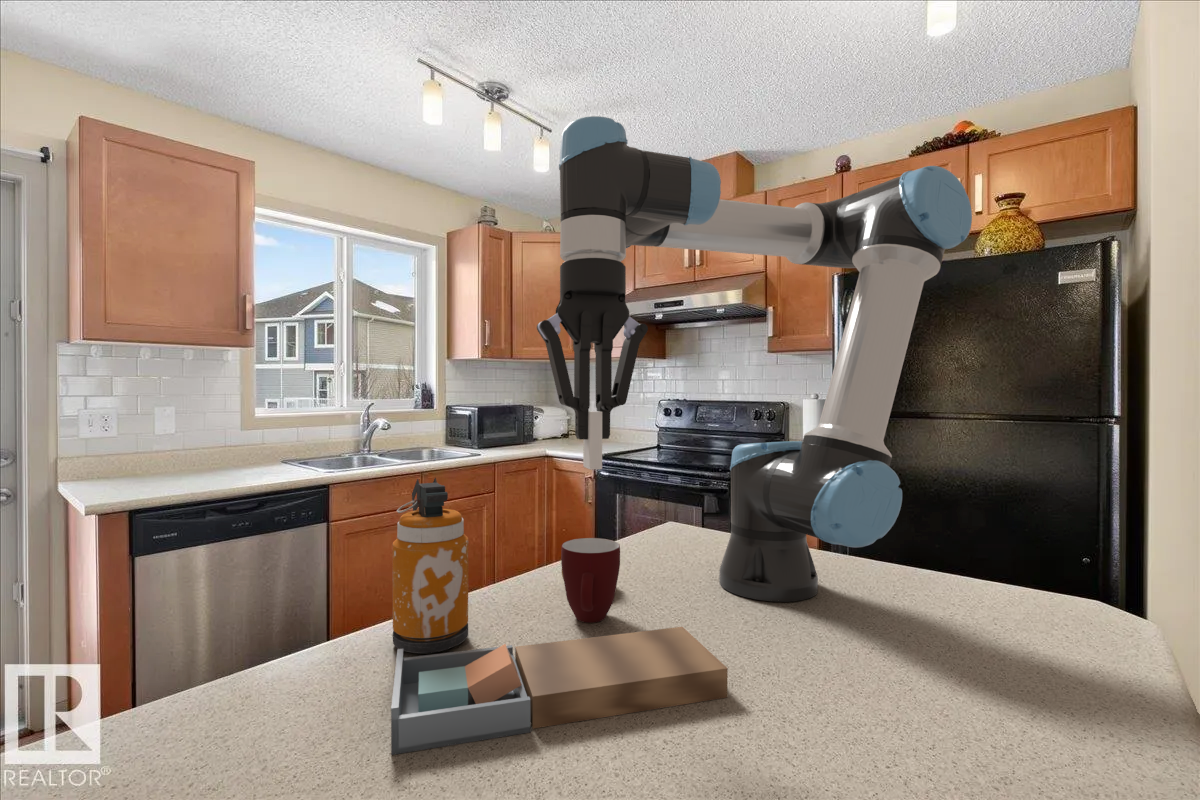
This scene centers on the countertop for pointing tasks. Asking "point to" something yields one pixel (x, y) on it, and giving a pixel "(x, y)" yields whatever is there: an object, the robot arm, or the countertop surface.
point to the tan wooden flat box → (617, 675)
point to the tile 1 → (442, 689)
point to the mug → (590, 576)
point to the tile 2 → (492, 676)
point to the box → (454, 722)
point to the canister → (430, 574)
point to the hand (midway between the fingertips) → (592, 467)
